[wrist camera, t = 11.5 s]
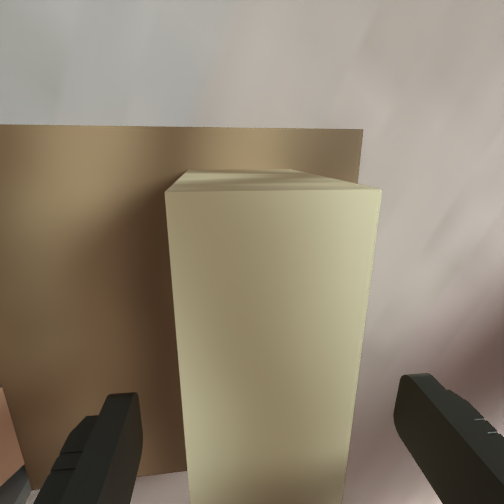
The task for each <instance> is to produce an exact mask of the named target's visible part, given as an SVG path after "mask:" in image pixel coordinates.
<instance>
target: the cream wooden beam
mask: <svg viewBox="0 0 504 504" xmlns="http://www.w3.org/2000/svg"><path fill="white" fill-rule="evenodd" d="M381 195H382V189H379V188H375V187H370V186H365V185H361V184H356V183H352V182H347V181H342V180H338V179H333V178H329V177H324V176H319V175H315V174H310V173H306V172H301V171H296V170H292V169H217V170H187V171H186V172H185V173H184V174H183V175H182V176H181V177H180V178H179V179H178V180H177V181H176V182H175V183H174V184H173V185H172V186H170V187H169V188H168V189H167V190H166V191H165V204H166V216H167V228H168V240H169V253H170V265H171V277H172V289H173V301H174V313H175V325H176V338H177V350H178V362H179V374H180V386H181V398H182V411H183V423H184V435H185V447H186V459H187V471H188V483H189V496H190V504H342V499H343V491H344V483H345V476H346V468H347V460H348V452H349V444H350V437H351V429H352V421H353V413H354V405H355V398H356V390H357V382H358V374H359V366H360V359H361V351H362V343H363V335H364V328H365V320H366V312H367V304H368V296H369V289H370V281H371V273H372V265H373V257H374V250H375V242H376V234H377V226H378V219H379V211H380V203H381Z"/></svg>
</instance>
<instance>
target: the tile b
mask: <svg viewBox="0 0 504 504" xmlns="http://www.w3.org/2000/svg"><path fill="white" fill-rule="evenodd" d="M24 464H25V463H24V460H23V456H22V453H21V449H20V446H19V443H18V439H17V436H16V432H15V429H14V426H13V422H12V419H11V415H10V412H9V409H8V405H7V402H6V398H5V395H4V392H3V388H2V387H0V487H1V486H2V485H3V484H4V483H5V482H6V481H7V480H8V479H9V478H10V477H11V476H12V475H13V474H14V473H15V472H16V471H18V470H19V469H20V468H21V467H22V466H23V465H24Z"/></svg>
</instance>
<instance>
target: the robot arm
mask: <svg viewBox="0 0 504 504" xmlns="http://www.w3.org/2000/svg"><path fill="white" fill-rule="evenodd" d="M394 423H395V427H396V430H397V432H398V434H399V436H400V438H401V439H402V441H403V442H404V444H405V446H406V447H407V449H408V450H409V452H410V453H411V455H412V456H413V458H414V460H415V461H416V463H417V464H418V466H419V467H420V469H421V470H422V472H423V474H424V475H425V477H426V478H427V480H428V481H429V483H430V484H431V486H432V488H433V489H434V491H435V492H436V494H437V495H438V497H439V498H440V500H441V502H442V503H443V504H504V437H503V436H502V435H501V434H498V433H497V430H496V429H495V428H494V427H493V426H492V425H491V424H490V423H489V422H488V421H485V420H484V417H483V416H482V415H481V414H480V413H479V412H478V411H477V410H476V409H475V408H474V407H473V406H472V405H471V404H470V403H469V402H467V401H466V400H464V399H463V398H461V397H460V396H458V395H457V394H455V393H453V392H452V391H450V390H446V389H445V388H444V387H443V386H442V385H441V384H440V383H439V382H438V381H437V380H436V379H435V378H434V377H433V376H432V375H430V374H428V373H424V374H409V375H403V376H402V377H401V379H400V383H399V388H398V393H397V398H396V403H395V409H394ZM142 447H143V429H142V421H141V413H140V404H139V397H138V393H137V392H130V393H115V394H109V395H108V396H107V397H106V400H105V402H104V404H103V406H102V409H101V411H100V413H99V415H92V416H86V417H85V418H84V419H83V420H82V421H81V422H80V423H79V424H78V425H77V426H76V427H75V428H74V429H73V430H72V431H71V432H70V433H69V435H68V437H67V439H66V441H65V443H64V445H63V447H62V449H61V451H60V454H59V457H57V459H56V461H55V463H54V465H53V466H52V468H51V472H50V475H48V476H47V478H46V480H45V482H44V484H43V486H42V488H41V490H40V492H39V494H38V496H37V498H36V500H35V501H34V503H33V504H130V501H131V497H132V493H133V489H134V485H135V480H136V476H137V472H138V468H139V464H140V460H141V455H142Z"/></svg>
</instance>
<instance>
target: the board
mask: <svg viewBox="0 0 504 504" xmlns="http://www.w3.org/2000/svg"><path fill="white" fill-rule="evenodd" d="M362 137H363V129H296V128H222V127H148V126H73V125H0V384H1V387H2V388H3V392H4V395H5V398H6V402H7V405H8V409H9V412H10V415H11V419H12V422H13V426H14V429H15V432H16V436H17V439H18V443H19V446H20V449H21V453H22V456H23V460H24V463H25V464H24V465H25V469H26V472H27V475H28V479H29V482H30V486H31V489H32V490H37V489H41V488H42V486H43V484H44V482H45V480H46V478H47V476H48V475H50V472H51V468H52V466H53V465H54V463H55V461H56V459H57V457H59V454H60V451H61V449H62V447H63V445H64V443H65V441H66V439H67V437H68V435H69V433H70V432H71V431H72V430H73V429H74V428H75V427H76V426H77V425H78V424H79V423H80V422H81V421H82V420H83V419H84V418H85V417H86V416H92V415H99V413H100V411H101V409H102V406H103V404H104V402H105V400H106V397H107V396H108V395H109V394H115V393H130V392H137V393H138V397H139V404H140V413H141V421H142V429H143V447H142V455H141V460H140V464H139V468H138V472H137V476H136V477H140V476H148V475H156V474H164V473H172V472H180V471H187V459H186V447H185V435H184V423H183V411H182V398H181V386H180V374H179V362H178V350H177V338H176V325H175V313H174V301H173V289H172V277H171V265H170V253H169V240H168V228H167V216H166V204H165V191H166V190H167V189H168V188H169V187H170V186H172V185H173V184H174V183H175V182H176V181H177V180H178V179H179V178H180V177H181V176H182V175H183V174H184V173H185V172H186V171H187V170H217V169H292V170H296V171H301V172H306V173H310V174H315V175H319V176H324V177H329V178H333V179H338V180H342V181H347V182H352V183H356V184H358V175H359V165H360V156H361V146H362Z"/></svg>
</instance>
